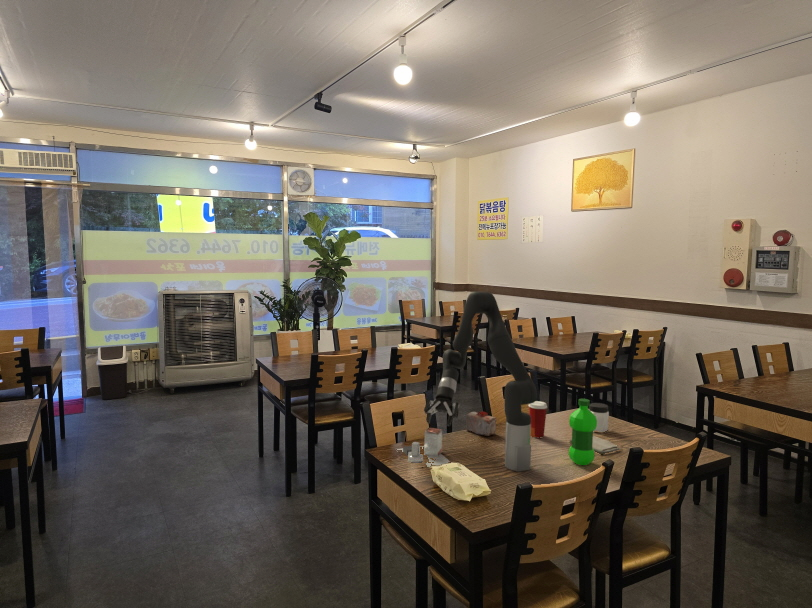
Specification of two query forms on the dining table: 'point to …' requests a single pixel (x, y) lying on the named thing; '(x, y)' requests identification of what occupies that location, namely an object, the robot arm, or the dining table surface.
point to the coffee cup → (537, 418)
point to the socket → (433, 442)
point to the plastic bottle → (582, 433)
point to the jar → (600, 416)
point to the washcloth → (602, 446)
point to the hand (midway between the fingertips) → (438, 424)
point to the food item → (481, 423)
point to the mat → (438, 461)
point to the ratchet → (413, 453)
